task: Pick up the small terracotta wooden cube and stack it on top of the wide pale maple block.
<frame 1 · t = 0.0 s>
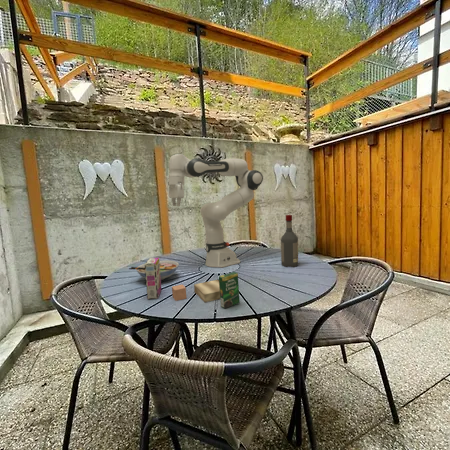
hand: (176, 206, 154), 39 cm above the table, tool pointing down, fingers open, 8 cm apart
ramen bowl: (158, 279, 146), on the table
liquor: (289, 265, 159), on the table
coffee box: (230, 305, 108), on the table
maple block: (211, 294, 121), on the table
terracotta cube: (179, 297, 119), on the table
candy bar box: (155, 294, 124), on the table
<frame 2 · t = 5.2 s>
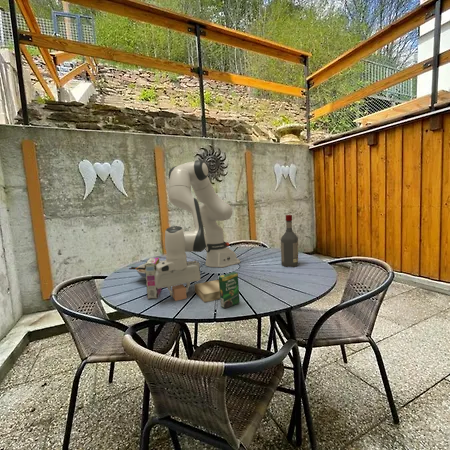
hand: (179, 293, 118), 2 cm above the table, tool pointing down, fingers closed on terracotta cube, 5 cm apart
terracotta cube: (179, 297, 119), on the table, touching gripper
everything else where it was.
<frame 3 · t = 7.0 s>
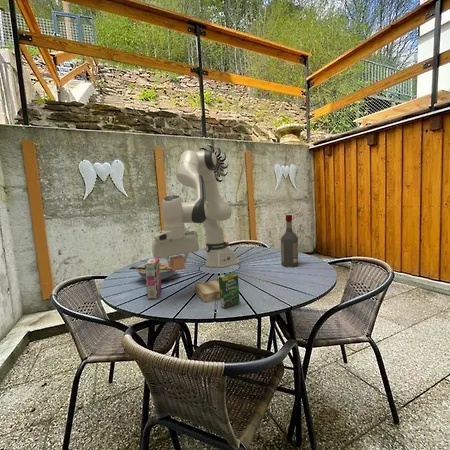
hand: (177, 264, 117), 15 cm above the table, tool pointing down, fingers closed on terracotta cube, 5 cm apart
terracotta cube: (178, 268, 117), point 13 cm above the table, touching gripper
everything else where it was.
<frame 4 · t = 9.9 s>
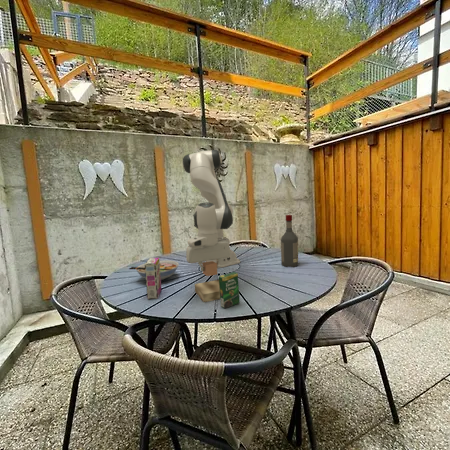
hand: (209, 269, 119), 12 cm above the table, tool pointing down, fingers closed on terracotta cube, 5 cm apart
terracotta cube: (210, 273, 119), point 10 cm above the table, touching gripper
everything else where it was.
when the fingers open (7 cm above the table, at t = 11.6 s): terracotta cube drops 2 cm, resting on maple block.
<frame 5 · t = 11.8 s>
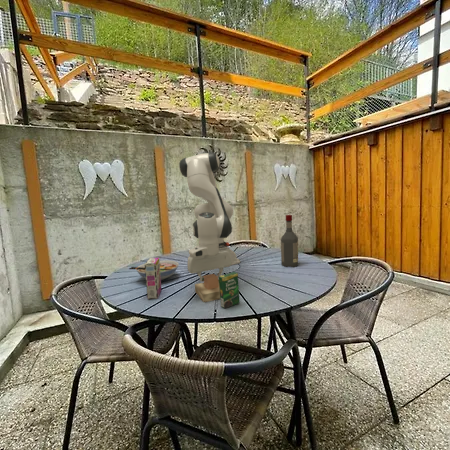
hand: (210, 279, 120), 7 cm above the table, tool pointing down, fingers open, 7 cm apart
maple block: (211, 295, 121), on the table, touching terracotta cube
terracotta cube: (211, 286, 120), point 3 cm above the table, touching maple block
everything else where it was.
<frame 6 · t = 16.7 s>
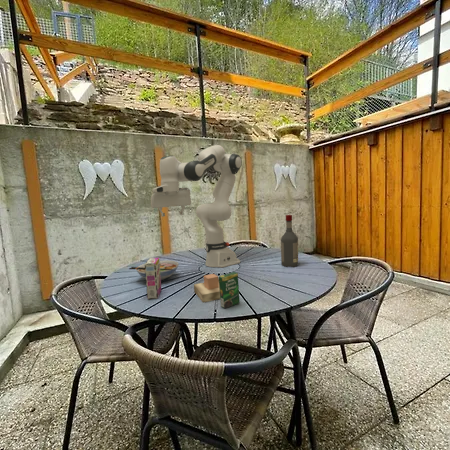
hand: (172, 215, 136), 35 cm above the table, tool pointing down, fingers open, 8 cm apart
maple block: (211, 295, 121), on the table
terracotta cube: (211, 286, 120), point 3 cm above the table
everything else where it was.
at the end: terracotta cube inside the target area on the maple block (0.4 cm from its centre), point 4.0 cm above the maple block's base; terracotta cube tilted 0°; the gripper is holding nothing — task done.
